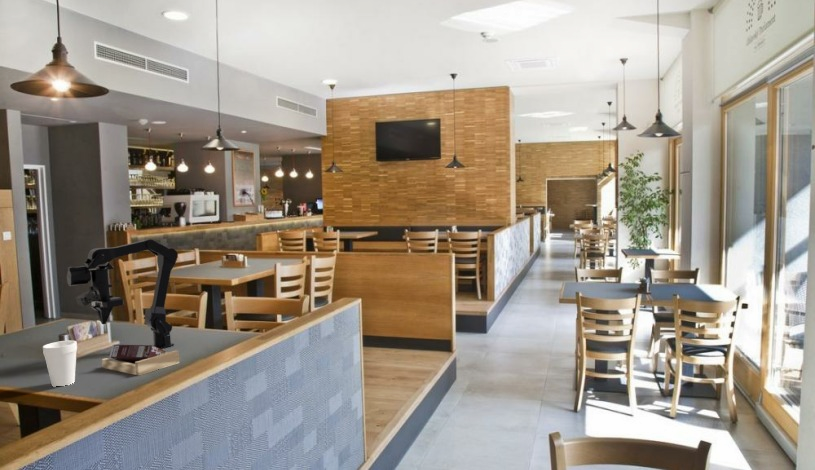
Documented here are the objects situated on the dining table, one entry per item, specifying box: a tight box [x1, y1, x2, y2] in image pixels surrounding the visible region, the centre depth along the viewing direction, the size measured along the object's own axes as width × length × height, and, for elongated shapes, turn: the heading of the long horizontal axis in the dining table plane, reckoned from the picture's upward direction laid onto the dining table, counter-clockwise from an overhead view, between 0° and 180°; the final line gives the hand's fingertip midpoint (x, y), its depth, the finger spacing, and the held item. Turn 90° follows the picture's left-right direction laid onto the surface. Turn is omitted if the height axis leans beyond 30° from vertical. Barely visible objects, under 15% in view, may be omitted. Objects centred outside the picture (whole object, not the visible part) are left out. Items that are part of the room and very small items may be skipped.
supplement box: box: [108, 344, 167, 363], centre depth 201 cm, size 9×5×16 cm
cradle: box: [101, 350, 180, 376], centre depth 202 cm, size 22×16×4 cm
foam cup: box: [42, 340, 78, 388], centre depth 184 cm, size 10×9×13 cm
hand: (103, 324), depth 213 cm, fingers closed
